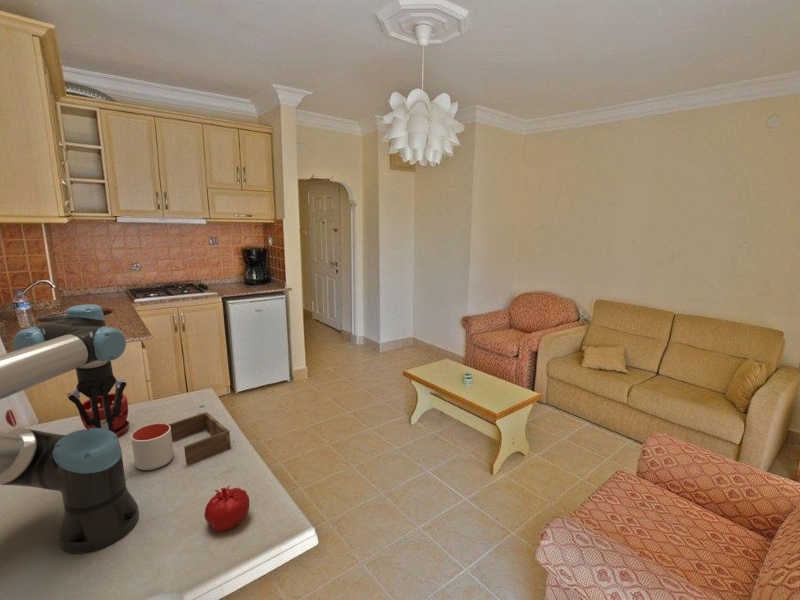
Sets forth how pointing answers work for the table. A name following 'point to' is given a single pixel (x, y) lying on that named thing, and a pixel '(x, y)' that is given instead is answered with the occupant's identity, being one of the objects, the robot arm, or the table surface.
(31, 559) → the table surface
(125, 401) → the plant pot
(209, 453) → the box
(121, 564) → the table surface
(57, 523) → the table surface
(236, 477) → the table surface
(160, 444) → the cup
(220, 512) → the pomegranate
